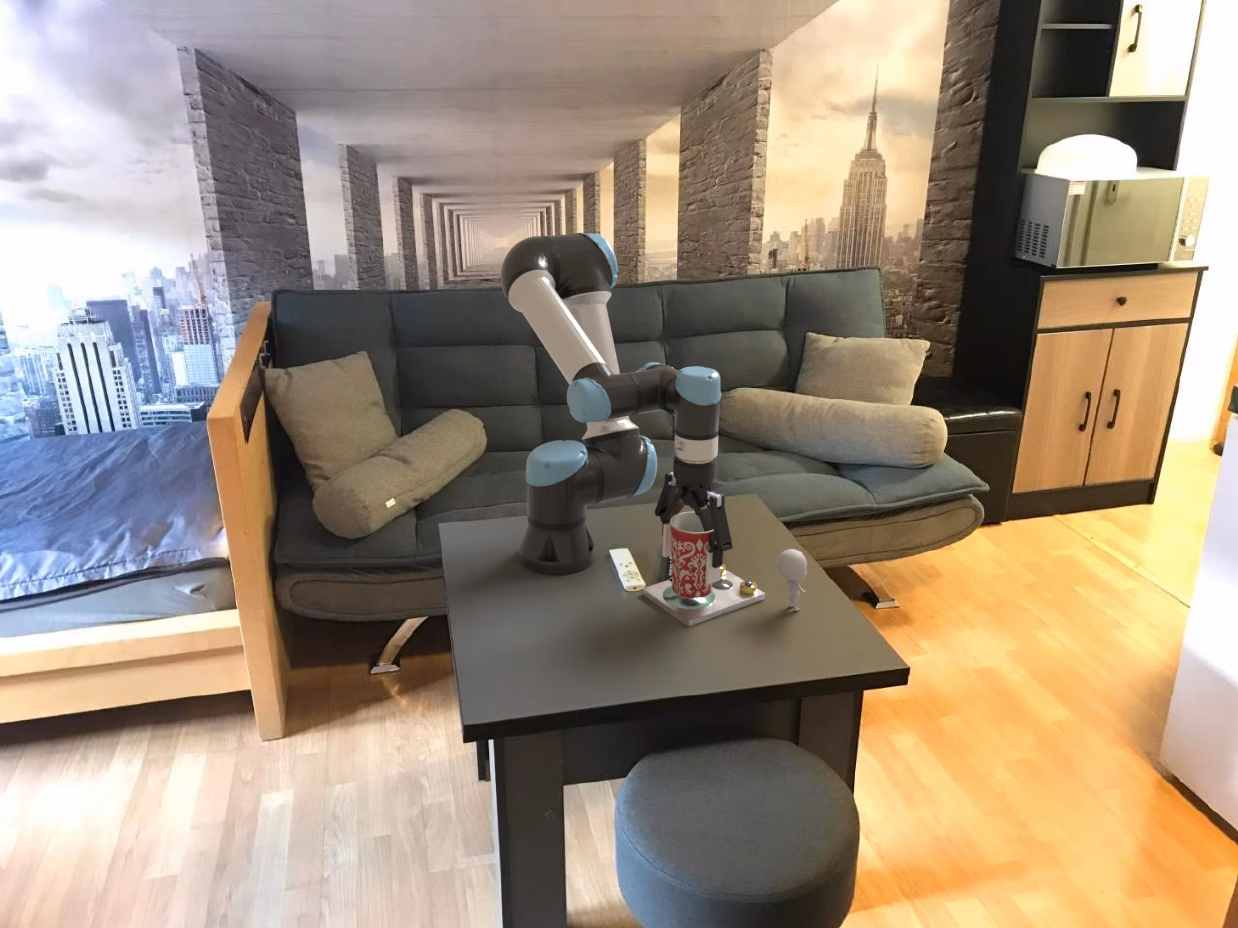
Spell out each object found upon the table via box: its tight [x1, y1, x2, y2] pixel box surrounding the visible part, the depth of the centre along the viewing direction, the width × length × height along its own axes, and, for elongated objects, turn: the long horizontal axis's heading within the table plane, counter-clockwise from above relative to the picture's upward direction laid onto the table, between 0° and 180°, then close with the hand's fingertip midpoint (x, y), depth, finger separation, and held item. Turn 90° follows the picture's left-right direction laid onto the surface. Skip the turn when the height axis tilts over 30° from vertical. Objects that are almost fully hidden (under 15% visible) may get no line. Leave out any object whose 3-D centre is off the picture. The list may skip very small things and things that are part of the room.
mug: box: [670, 511, 716, 598], centre depth 175 cm, size 13×9×14 cm
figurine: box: [776, 548, 808, 612], centre depth 175 cm, size 8×5×12 cm
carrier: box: [641, 563, 766, 628], centre depth 180 cm, size 14×18×3 cm
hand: (690, 568), depth 176 cm, fingers closed on mug, 12 cm apart
